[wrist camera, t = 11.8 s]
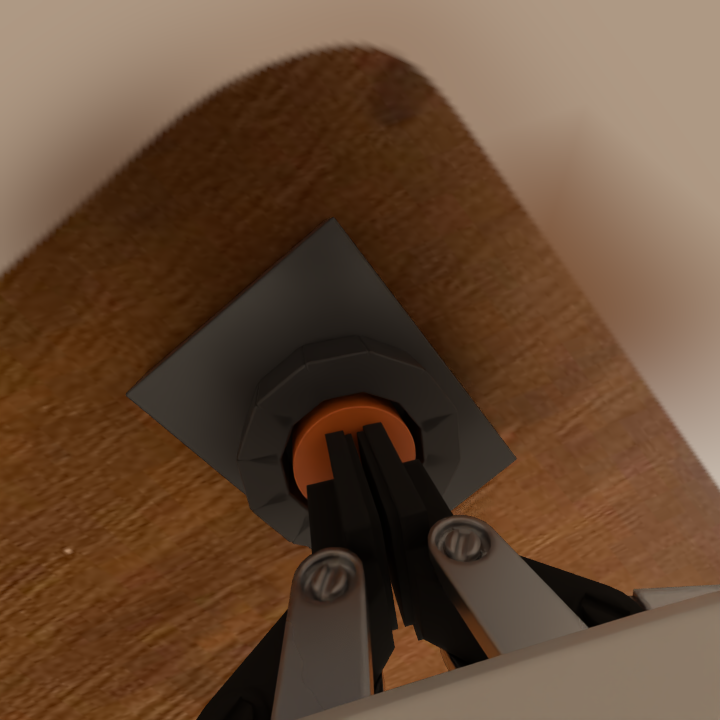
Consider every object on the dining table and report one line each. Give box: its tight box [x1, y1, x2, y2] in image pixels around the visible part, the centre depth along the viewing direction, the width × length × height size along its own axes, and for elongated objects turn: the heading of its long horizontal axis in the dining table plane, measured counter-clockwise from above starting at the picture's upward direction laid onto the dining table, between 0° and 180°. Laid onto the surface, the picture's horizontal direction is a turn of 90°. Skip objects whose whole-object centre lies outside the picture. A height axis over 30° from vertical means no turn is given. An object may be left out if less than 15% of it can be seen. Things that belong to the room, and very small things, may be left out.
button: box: [292, 392, 416, 499], centre depth 12 cm, size 4×4×2 cm
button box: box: [126, 217, 516, 549], centre depth 13 cm, size 11×8×4 cm
